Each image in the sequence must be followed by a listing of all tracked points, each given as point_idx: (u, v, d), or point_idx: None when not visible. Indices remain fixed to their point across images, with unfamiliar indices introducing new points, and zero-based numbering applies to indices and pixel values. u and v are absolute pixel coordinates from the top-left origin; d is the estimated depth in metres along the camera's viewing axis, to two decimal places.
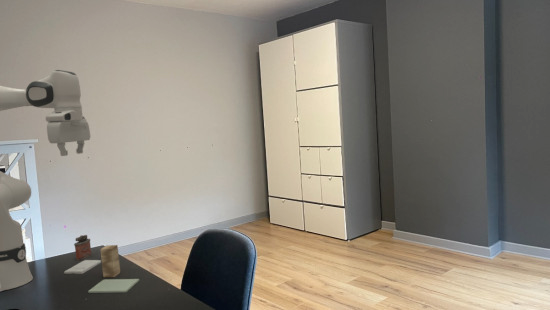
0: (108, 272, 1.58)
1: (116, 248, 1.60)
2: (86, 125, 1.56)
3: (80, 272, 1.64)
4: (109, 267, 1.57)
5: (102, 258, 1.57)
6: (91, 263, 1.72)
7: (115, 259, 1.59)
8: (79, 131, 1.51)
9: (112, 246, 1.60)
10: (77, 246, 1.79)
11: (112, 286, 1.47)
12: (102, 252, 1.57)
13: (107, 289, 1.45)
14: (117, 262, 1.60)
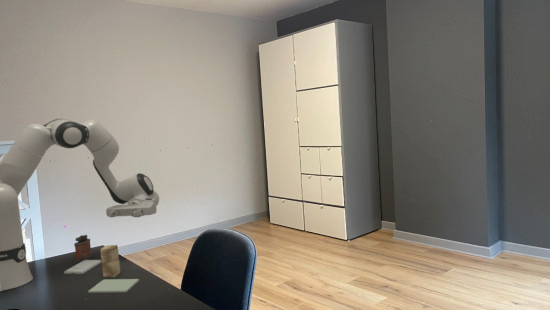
0: (108, 272, 1.58)
1: (116, 248, 1.60)
2: None
3: (80, 272, 1.64)
4: (109, 267, 1.57)
5: (102, 258, 1.57)
6: (91, 263, 1.72)
7: (115, 259, 1.59)
8: None
9: (112, 246, 1.60)
10: (77, 246, 1.79)
11: (112, 286, 1.47)
12: (102, 252, 1.57)
13: (107, 289, 1.45)
14: (117, 262, 1.60)
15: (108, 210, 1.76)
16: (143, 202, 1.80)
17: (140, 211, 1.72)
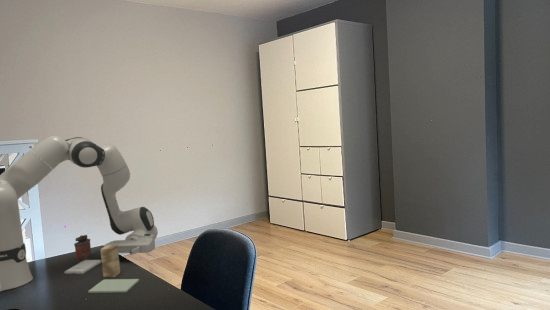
0: (107, 272, 1.58)
1: (116, 248, 1.60)
2: None
3: (80, 272, 1.64)
4: (109, 267, 1.57)
5: (102, 258, 1.57)
6: (91, 263, 1.72)
7: (115, 259, 1.59)
8: None
9: (112, 246, 1.60)
10: (77, 246, 1.79)
11: (112, 286, 1.47)
12: (102, 252, 1.57)
13: (107, 289, 1.45)
14: (117, 262, 1.60)
15: None
16: (142, 238, 1.78)
17: (139, 249, 1.70)
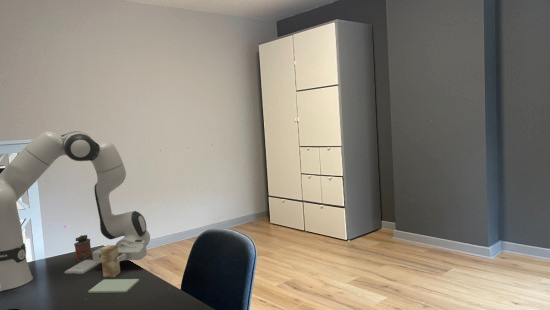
0: (107, 272, 1.58)
1: (116, 248, 1.60)
2: None
3: (81, 272, 1.64)
4: (109, 267, 1.57)
5: (102, 258, 1.57)
6: (91, 263, 1.72)
7: None
8: None
9: (112, 246, 1.60)
10: (77, 246, 1.79)
11: (112, 286, 1.47)
12: (102, 252, 1.57)
13: (107, 289, 1.45)
14: (117, 262, 1.60)
15: (94, 254, 1.64)
16: (132, 244, 1.69)
17: (124, 256, 1.61)
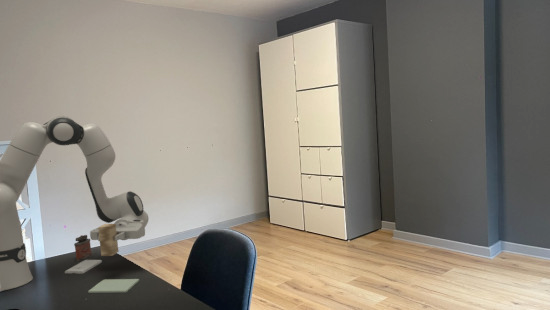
0: (105, 251, 1.55)
1: (114, 226, 1.58)
2: None
3: (81, 272, 1.64)
4: (107, 246, 1.55)
5: (100, 236, 1.55)
6: (92, 263, 1.72)
7: None
8: None
9: (110, 224, 1.57)
10: (77, 246, 1.79)
11: (112, 286, 1.47)
12: (100, 230, 1.55)
13: (107, 289, 1.45)
14: (115, 241, 1.58)
15: (92, 233, 1.62)
16: (130, 224, 1.66)
17: (123, 235, 1.59)
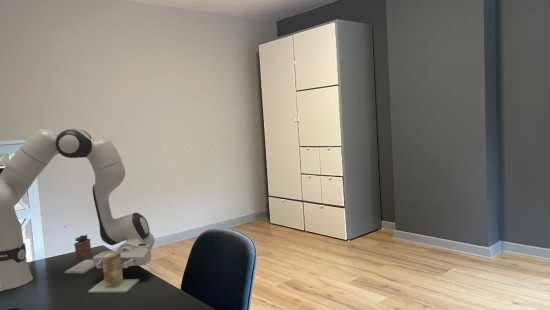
0: (110, 282, 1.46)
1: (119, 256, 1.48)
2: None
3: (81, 272, 1.64)
4: (111, 277, 1.46)
5: (104, 267, 1.46)
6: (92, 263, 1.72)
7: (118, 268, 1.47)
8: None
9: (114, 254, 1.48)
10: (77, 246, 1.79)
11: None
12: (104, 260, 1.45)
13: (107, 289, 1.45)
14: (120, 271, 1.49)
15: (95, 259, 1.52)
16: (136, 249, 1.57)
17: (132, 261, 1.49)
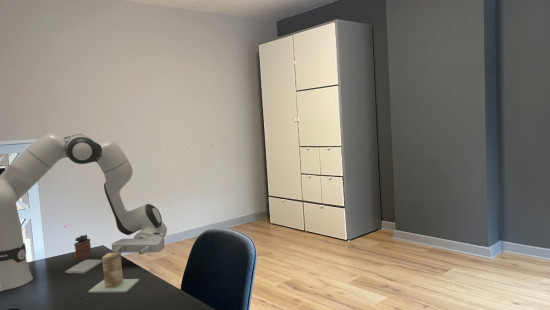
0: (110, 282, 1.46)
1: (119, 256, 1.48)
2: None
3: (81, 271, 1.64)
4: (111, 277, 1.46)
5: (104, 267, 1.46)
6: (92, 263, 1.72)
7: (118, 268, 1.47)
8: None
9: (114, 254, 1.48)
10: (77, 246, 1.79)
11: None
12: (104, 260, 1.45)
13: (107, 289, 1.45)
14: (120, 271, 1.49)
15: (114, 245, 1.66)
16: (151, 237, 1.70)
17: (148, 248, 1.63)
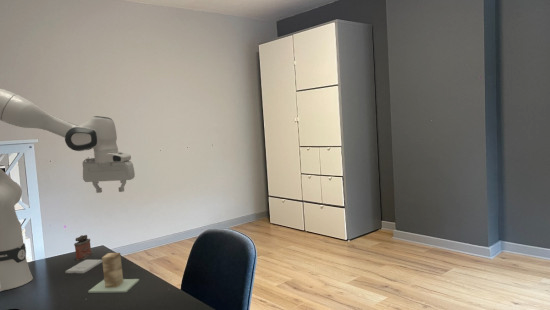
0: (110, 282, 1.46)
1: (119, 256, 1.48)
2: None
3: (81, 271, 1.64)
4: (111, 277, 1.46)
5: (104, 267, 1.46)
6: (92, 262, 1.73)
7: (118, 268, 1.47)
8: None
9: (114, 254, 1.48)
10: (77, 246, 1.79)
11: None
12: (104, 260, 1.45)
13: (107, 289, 1.45)
14: (120, 271, 1.49)
15: (87, 181, 1.64)
16: (114, 165, 1.60)
17: (124, 182, 1.63)
